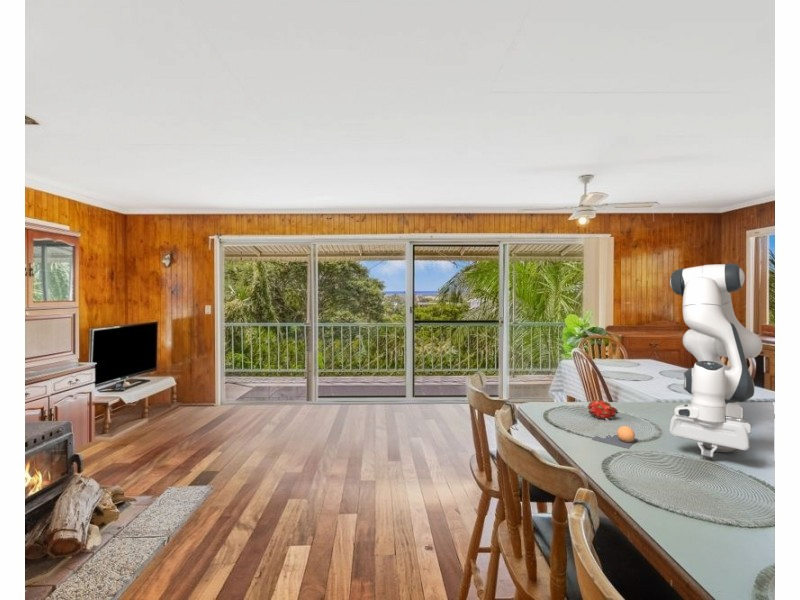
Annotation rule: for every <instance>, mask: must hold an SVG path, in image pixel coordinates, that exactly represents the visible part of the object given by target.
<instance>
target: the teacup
mask: <svg viewBox="0 0 800 600" xmlns="http://www.w3.org/2000/svg"><path fill="white" fill-rule="evenodd" d="M702 445H703V446H704V447H706V448H707V449H708V450H711V449H712V448H713V447H712V443H707V442H703V444H702ZM735 450H737V449H736V448H731V447H726V446H721V445H718V447H717V449H716V450H715V451H714V452H718V453H731V452H733V451H735Z"/></svg>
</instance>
